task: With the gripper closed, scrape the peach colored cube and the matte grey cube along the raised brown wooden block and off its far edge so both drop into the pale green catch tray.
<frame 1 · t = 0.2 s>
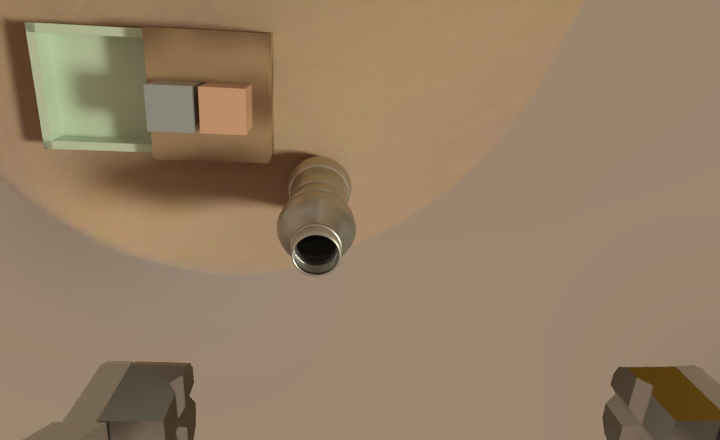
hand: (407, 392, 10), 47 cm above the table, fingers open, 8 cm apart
plastic bottle: (319, 180, 57), on the table
brown wooden block: (218, 92, 53), on the table
catch tray: (105, 87, 52), on the table
matte grey cube: (181, 102, 49), point 5 cm above the table, touching brown wooden block
peach colored cube: (230, 104, 49), point 5 cm above the table, touching brown wooden block
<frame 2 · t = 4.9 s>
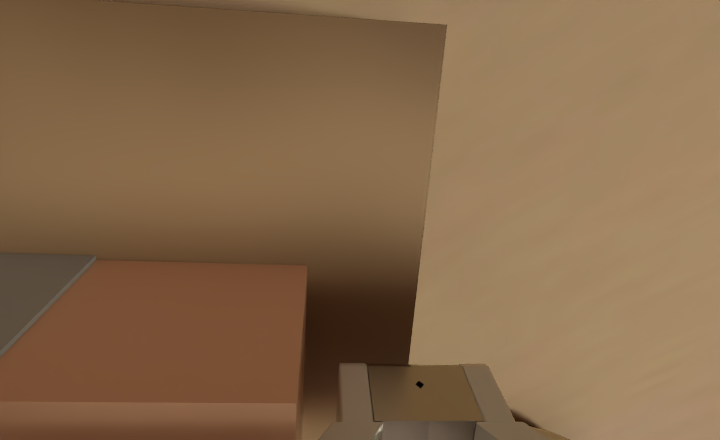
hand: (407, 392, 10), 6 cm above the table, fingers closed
brown wooden block: (198, 232, 15), on the table
matte grey cube: (4, 343, 10), point 5 cm above the table, touching peach colored cube
peach colored cube: (207, 350, 11), point 5 cm above the table, touching gripper, matte grey cube
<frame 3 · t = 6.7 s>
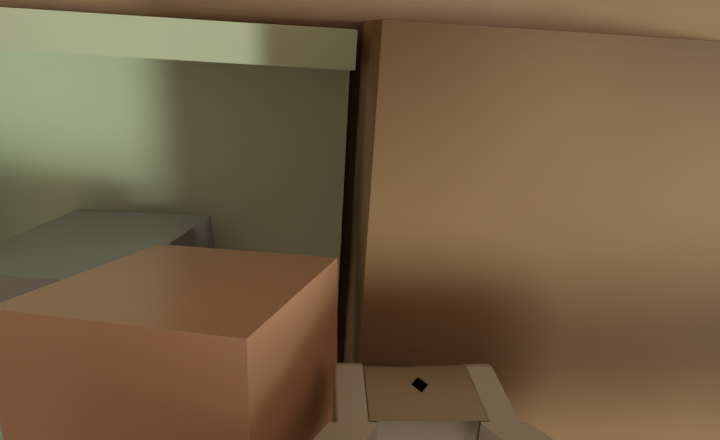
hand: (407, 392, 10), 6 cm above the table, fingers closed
brown wooden block: (530, 243, 16), on the table
catch tray: (155, 230, 15), on the table
matte grey cube: (180, 322, 12), point 3 cm above the table, tilted 105°, touching catch tray, peach colored cube
peach colored cube: (246, 341, 11), point 5 cm above the table, tilted 20°, touching gripper, matte grey cube
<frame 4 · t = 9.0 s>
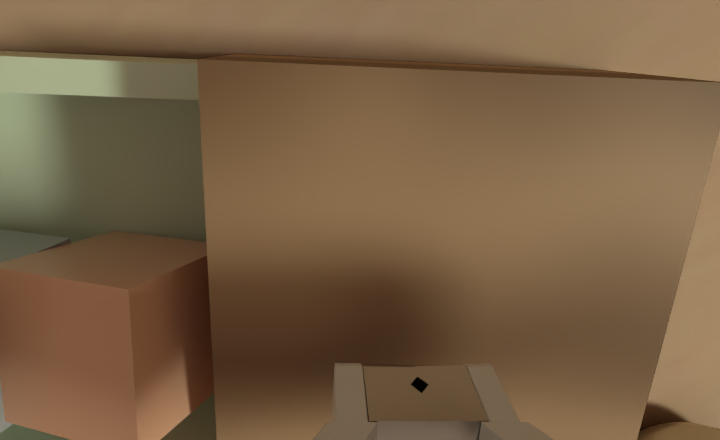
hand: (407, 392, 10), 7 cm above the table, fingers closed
brown wooden block: (412, 252, 17), on the table
catch tray: (58, 246, 16), on the table
matte grey cube: (21, 339, 13), point 4 cm above the table, tilted 112°, touching catch tray, peach colored cube
peach colored cube: (65, 316, 14), point 2 cm above the table, tilted 68°, touching catch tray, matte grey cube, brown wooden block
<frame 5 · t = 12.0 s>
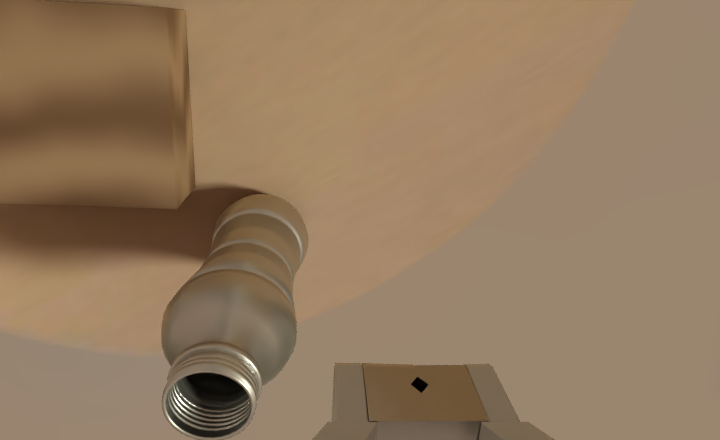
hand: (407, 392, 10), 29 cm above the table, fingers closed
plastic bottle: (265, 225, 40), on the table
brown wooden block: (108, 99, 36), on the table
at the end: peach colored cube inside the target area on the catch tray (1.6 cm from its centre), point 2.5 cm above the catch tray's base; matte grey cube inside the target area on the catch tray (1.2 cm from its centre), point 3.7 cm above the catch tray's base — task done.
